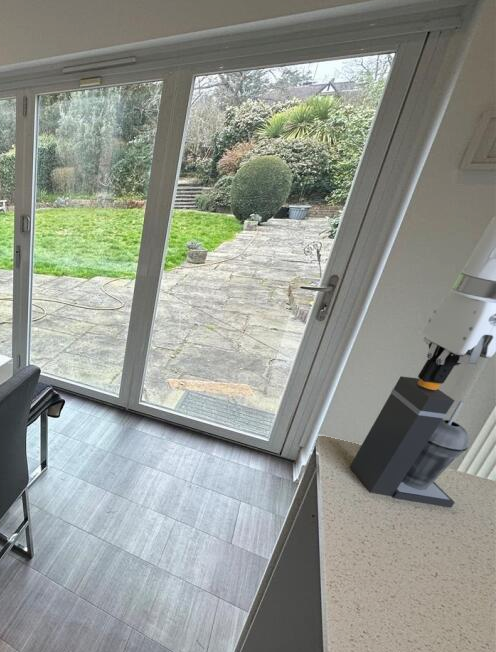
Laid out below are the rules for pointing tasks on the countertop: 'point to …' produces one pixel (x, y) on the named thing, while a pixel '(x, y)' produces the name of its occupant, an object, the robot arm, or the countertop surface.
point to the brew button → (429, 385)
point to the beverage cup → (438, 453)
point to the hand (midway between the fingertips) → (429, 380)
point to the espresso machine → (402, 442)
